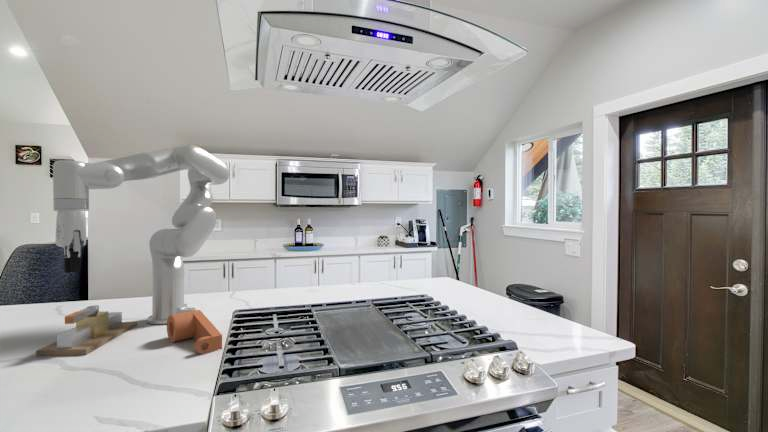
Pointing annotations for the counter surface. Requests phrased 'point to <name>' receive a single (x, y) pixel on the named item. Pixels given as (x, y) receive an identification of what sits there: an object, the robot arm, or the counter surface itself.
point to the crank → (194, 330)
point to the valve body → (89, 329)
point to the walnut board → (87, 342)
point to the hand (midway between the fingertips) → (72, 271)
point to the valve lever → (81, 314)
